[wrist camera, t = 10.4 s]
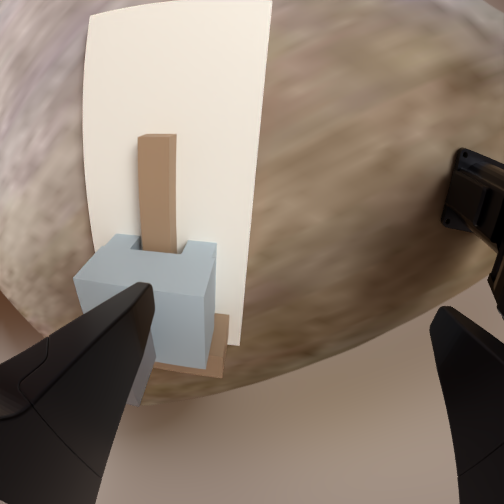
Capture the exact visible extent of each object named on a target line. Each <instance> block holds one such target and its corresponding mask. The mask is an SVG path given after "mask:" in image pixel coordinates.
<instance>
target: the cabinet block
mask: <svg viewBox="0 0 504 504" xmlns="http://www.w3.org/2000/svg"><path fill="white" fill-rule="evenodd" d="M216 255H217V243H213V242H202V241H192V240H188V242H187V244H186V246H185V248H184V250H183V252H182V254H173V253H163V252H153V251H144V250H142V248H141V237H140V236H138V235H127V234H115V235H114V236H113V237H112V239H111V240H110V241H109V242H108V243H107V244H106V245H105V246H101V247H100V249H99V250H98V251H97V252H96V253H95V254H94V255H93V256H92V257H91V258H90V259H89V260H88V262H87V263H86V264H85V265H84V266H83V267H82V268H81V269H80V271H79V272H78V273H77V274H76V275H75V276H74V277H73V280H74V284H75V287H76V291H77V295H78V298H79V301H80V305H81V308H82V311H83V314H85V313H86V312H88V311H90V310H91V309H93V308H94V307H96V306H98V305H99V304H101V303H103V302H104V301H106V300H108V299H109V298H111V297H113V296H114V295H116V294H118V293H119V292H121V291H123V290H125V289H126V288H128V287H130V286H131V285H133V284H135V283H136V282H146V283H150V284H151V285H152V287H153V293H154V301H155V314H154V317H153V321H152V325H151V328H150V332H149V336H148V340H147V344H146V348H145V352H144V355H143V358H142V361H141V364H140V367H139V369H138V372H137V375H136V377H135V380H134V383H133V386H132V388H131V391H130V394H129V397H128V399H127V402H126V404H130V405H133V406H138V407H139V406H140V403H141V400H142V397H143V394H144V391H145V388H146V385H147V382H148V379H149V376H150V374H151V371H152V368H153V365H154V362H160V363H166V364H172V365H178V366H185V367H191V368H198V369H206V365H207V360H208V355H209V351H210V346H211V341H212V336H213V331H214V314H215V295H216Z"/></svg>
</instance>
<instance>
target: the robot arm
mask: <svg viewBox="0 0 504 504" xmlns="http://www.w3.org/2000/svg"><path fill="white" fill-rule="evenodd" d="M464 152H465V155H464V157H463V153H464ZM446 219H448V220H447V222H445V221H446ZM441 224H442V225H443V226H444V227H447V228H452V229H457V230H463V231H467V232H472V233H475V234H476V235H477V236H478V237H479V238H480V239H482V240H483V241H484V242H485V243H486V244H487V245H488V246H489V247H491V248H492V249H493V250H494V251H495V252H496V253H497V257H496V260H495V263H494V266H493V269H492V272H491V273H490V274H489V277H488V279H487V281H488V283H489V285H490V288H491V290H492V293H493V295H494V298H495V300H496V303H497V309H498V312H499V313H500V314H501V315H502V318H503V320H504V164H502V163H500V162H498V161H495V160H493V159H491V158H488V157H486V156H483V155H481V154H479V153H476V152H474V151H471V150H468V149H466V148H460V149H459V151H458V154H457V159H456V163H455V168H454V172H453V176H452V180H451V184H450V188H449V191H448V195H447V199H446V203H445V207H444V210H443V213H442V217H441ZM154 314H155V301H154V293H153V287H152V285H151V284H150V283H146V282H136V283H135V284H133V285H131V286H130V287H128V288H126V289H125V290H123V291H121V292H119V293H118V294H116V295H114V296H113V297H111V298H109V299H108V300H106V301H104V302H103V303H101V304H99V305H98V306H96V307H94V308H93V309H91V310H90V311H88V312H86V313H85V314H83V315H81V316H80V317H78V318H76V319H75V320H73V321H72V322H70V323H68V324H67V325H65V326H64V327H62V328H60V329H59V330H57V331H56V332H54V333H52V334H51V335H49V337H46V338H44V339H43V340H41V341H40V342H38V343H36V344H35V345H33V346H32V347H30V348H28V349H26V350H25V351H23V352H21V353H20V354H18V355H16V356H14V357H12V358H11V359H9V360H7V361H5V362H3V363H1V364H0V504H95V502H96V499H97V495H98V491H99V488H100V484H101V480H102V476H103V473H104V470H105V466H106V463H107V460H108V457H109V453H110V450H111V447H112V444H113V441H114V438H115V435H116V431H117V429H118V426H119V423H120V420H121V417H122V413H123V411H124V408H125V405H126V402H127V399H128V397H129V394H130V391H131V388H132V386H133V383H134V380H135V377H136V375H137V372H138V369H139V367H140V364H141V361H142V358H143V355H144V352H145V348H146V344H147V340H148V336H149V332H150V328H151V325H152V321H153V317H154ZM430 336H431V341H432V346H433V351H434V356H435V362H436V367H437V372H438V376H439V380H440V384H441V388H442V392H443V395H444V400H445V405H446V409H447V414H448V419H449V423H450V429H451V434H452V439H453V446H454V452H455V460H456V467H457V476H458V488H459V502H460V504H504V344H503V343H502V342H501V341H499V340H498V339H497V338H495V337H494V336H493V335H491V334H490V333H489V332H487V331H486V330H484V329H483V328H482V327H480V326H479V325H477V324H476V323H474V322H473V321H472V320H470V319H469V318H467V317H466V316H464V315H463V314H461V313H460V312H459V311H457V310H456V309H454V308H453V307H451V306H442V307H440V308H439V309H438V311H437V313H436V315H435V317H434V319H433V321H432V323H431V325H430Z"/></svg>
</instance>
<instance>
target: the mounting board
mask: <svg viewBox="0 0 504 504" xmlns="http://www.w3.org/2000/svg"><path fill="white" fill-rule="evenodd" d="M271 12H272V1H266V0H180V1H169V2H160V3H152V4H145V5H139V6H133V7H127V8H122V9H117V10H112V11H108V12H103V13H99V14H95V15H91V16H90V21H89V28H88V35H87V44H86V53H85V65H84V81H83V151H84V168H85V180H86V191H87V200H88V209H89V216H90V224H91V230H92V237H93V243H94V249H95V253H96V252H97V251H98V250H99V249H100V247H101V246H105V245H106V244H107V243H108V242H109V241H110V240H111V239H112V237H113V236H114V235H115V234H127V235H138V236H140V237H141V248H142V250H144V251H153V252H163V253H173V254H182V252H183V250H184V248H185V246H186V244H187V242H188V240H192V241H202V242H213V243H217V255H216V295H215V314H214V331H213V336H212V341H211V346H210V351H209V355H208V360H207V365H206V369H198V368H191V367H185V366H178V365H172V364H166V363H160V362H154V365H153V368H158V369H163V370H169V371H175V372H181V373H187V374H194V375H201V376H209V377H217V378H222V377H223V370H224V363H225V356H226V350H227V344H228V345H237V346H240V336H241V326H242V315H243V304H244V293H245V282H246V271H247V260H248V249H249V239H250V228H251V217H252V207H253V196H254V186H255V175H256V165H257V154H258V144H259V133H260V123H261V113H262V103H263V92H264V82H265V72H266V62H267V52H268V42H269V32H270V22H271Z"/></svg>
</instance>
